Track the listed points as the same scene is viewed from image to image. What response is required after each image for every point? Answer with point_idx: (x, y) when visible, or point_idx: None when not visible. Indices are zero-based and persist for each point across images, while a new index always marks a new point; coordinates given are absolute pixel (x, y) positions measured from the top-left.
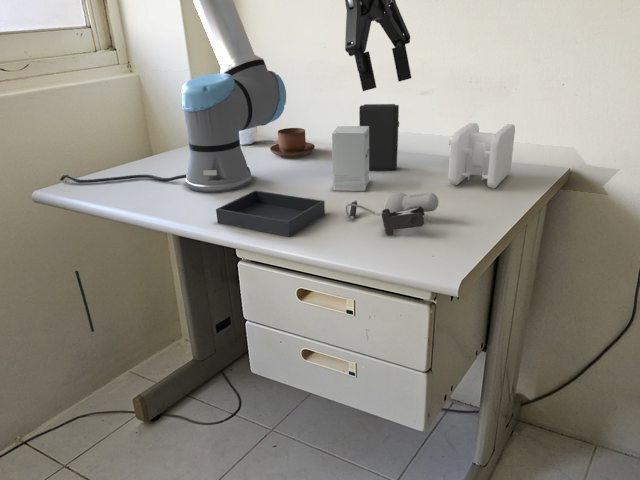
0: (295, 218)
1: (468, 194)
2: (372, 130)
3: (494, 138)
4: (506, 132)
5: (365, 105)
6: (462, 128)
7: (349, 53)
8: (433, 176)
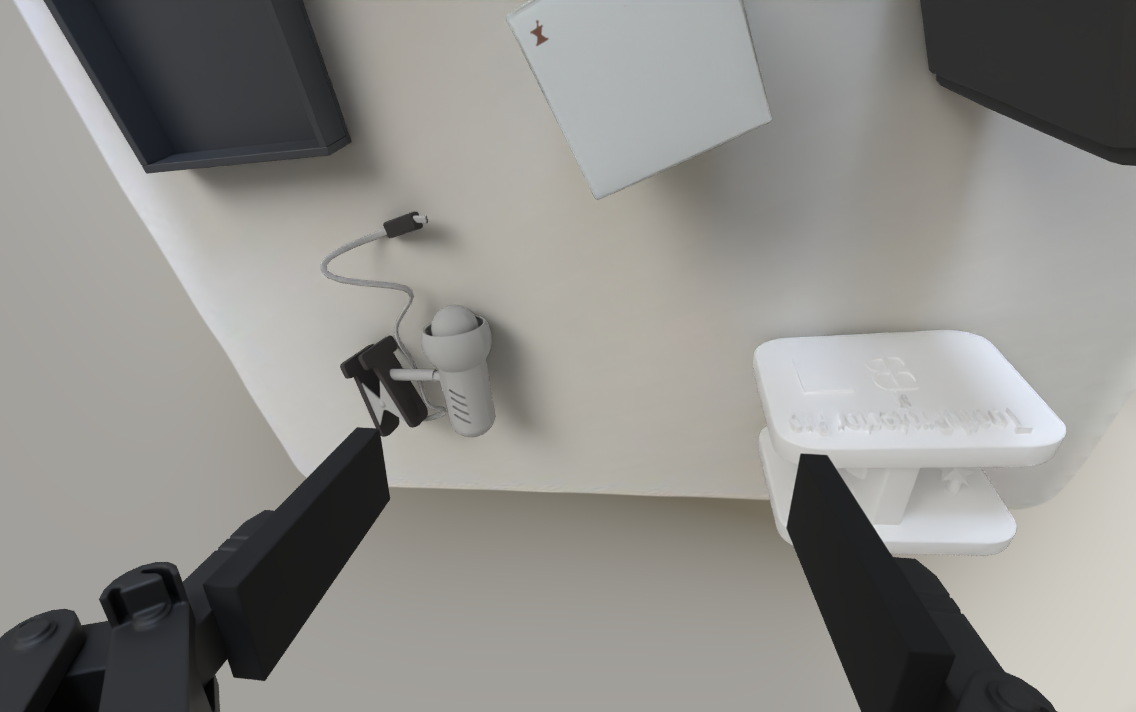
0: (180, 169)
1: (717, 390)
2: None
3: None
4: None
5: None
6: (909, 451)
7: (122, 587)
8: (875, 251)
